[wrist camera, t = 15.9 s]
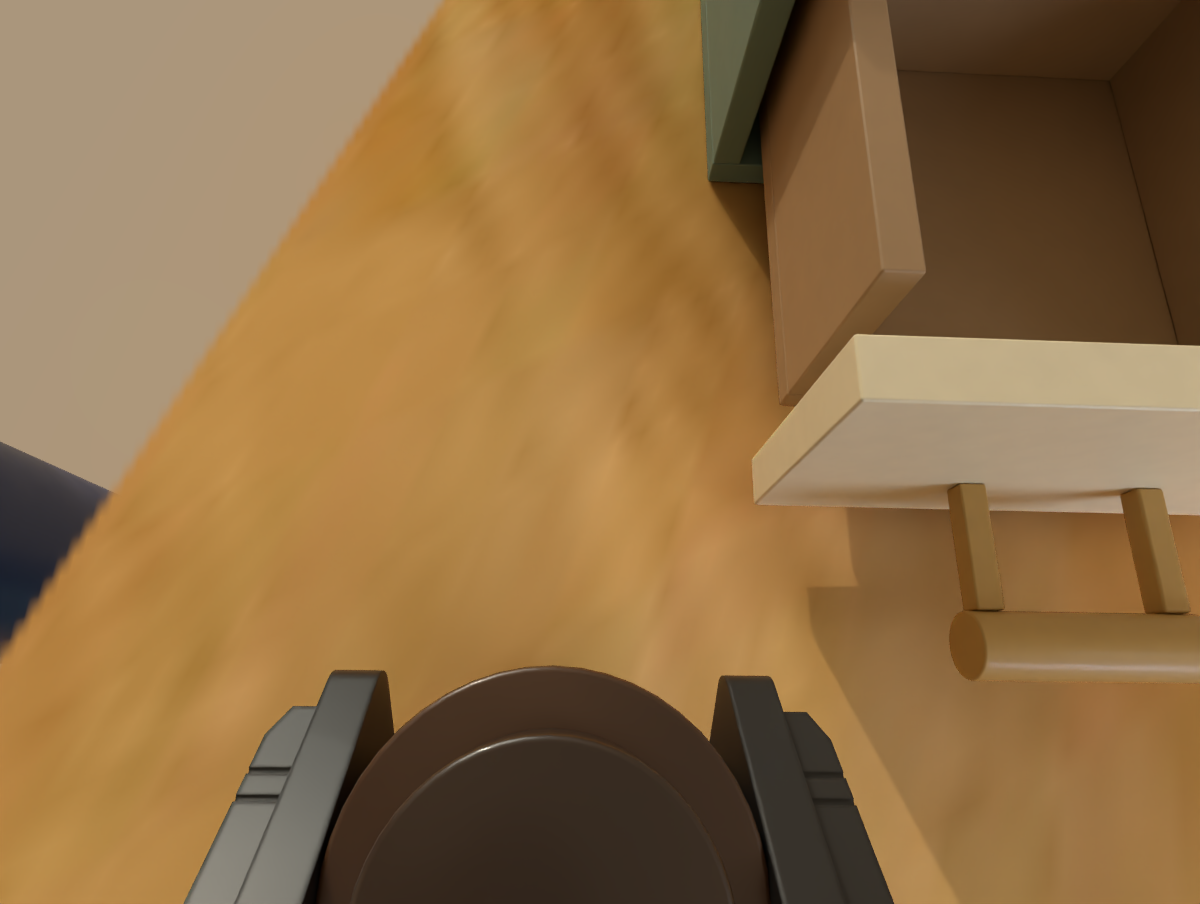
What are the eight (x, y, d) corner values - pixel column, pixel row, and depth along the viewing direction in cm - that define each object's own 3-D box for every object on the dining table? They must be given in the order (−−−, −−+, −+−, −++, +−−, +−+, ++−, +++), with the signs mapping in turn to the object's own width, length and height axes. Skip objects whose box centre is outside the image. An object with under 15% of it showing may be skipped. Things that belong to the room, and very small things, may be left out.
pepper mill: (432, 926, 16) (206, 1327, 6) (450, 680, 17) (296, 655, 7) (667, 926, 16) (845, 1312, 6) (662, 682, 17) (797, 661, 7)
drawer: (1283, 686, 17) (1714, 683, 11) (763, 680, 17) (890, 672, 10) (1124, 92, 23) (1347, -146, 16) (729, 72, 22) (798, -182, 16)
